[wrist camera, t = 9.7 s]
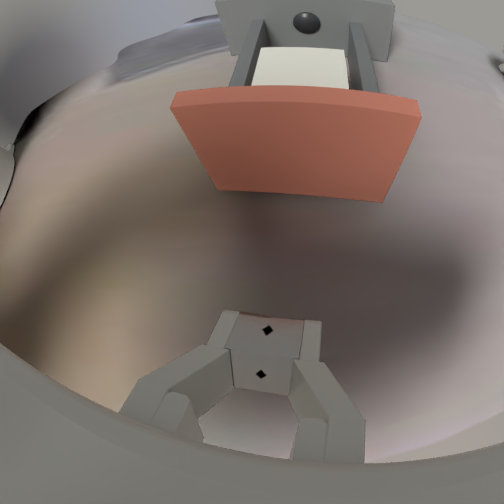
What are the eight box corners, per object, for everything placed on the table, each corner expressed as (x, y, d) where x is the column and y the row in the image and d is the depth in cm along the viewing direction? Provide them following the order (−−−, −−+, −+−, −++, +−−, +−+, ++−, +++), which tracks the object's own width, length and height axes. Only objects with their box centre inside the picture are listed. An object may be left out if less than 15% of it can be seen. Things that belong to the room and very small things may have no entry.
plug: (220, 194, 22) (169, 107, 12) (245, 88, 25) (222, 8, 16) (379, 207, 19) (421, 117, 10) (368, 94, 22) (380, 10, 13)
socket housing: (201, 143, 24) (166, 78, 16) (237, 40, 29) (223, -10, 21) (408, 156, 20) (437, 88, 13) (381, 45, 25) (387, -7, 17)
